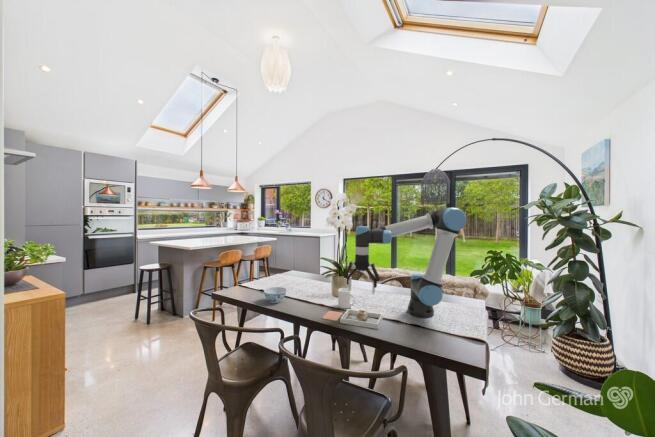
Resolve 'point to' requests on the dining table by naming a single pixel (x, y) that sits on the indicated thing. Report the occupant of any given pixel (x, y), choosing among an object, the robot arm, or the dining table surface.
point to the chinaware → (275, 294)
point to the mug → (345, 298)
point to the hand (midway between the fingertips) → (361, 291)
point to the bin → (361, 323)
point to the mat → (332, 315)
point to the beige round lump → (361, 315)
